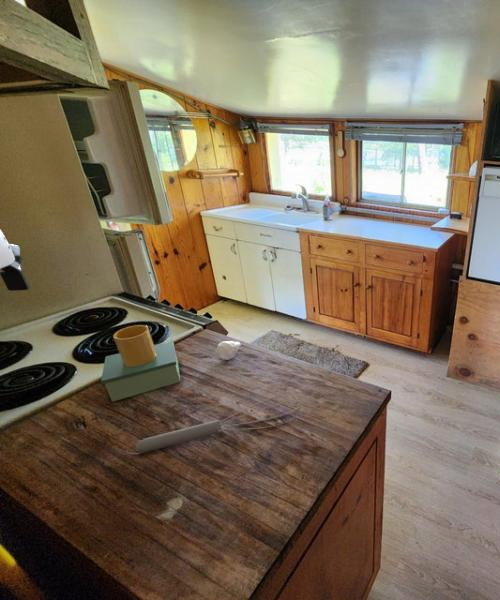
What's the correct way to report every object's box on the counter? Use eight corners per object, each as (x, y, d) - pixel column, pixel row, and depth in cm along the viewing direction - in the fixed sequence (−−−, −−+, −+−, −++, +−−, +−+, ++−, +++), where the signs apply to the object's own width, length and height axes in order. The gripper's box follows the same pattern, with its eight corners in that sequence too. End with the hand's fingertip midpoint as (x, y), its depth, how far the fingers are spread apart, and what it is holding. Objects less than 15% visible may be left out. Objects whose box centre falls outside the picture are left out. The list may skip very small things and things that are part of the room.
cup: (118, 368, 79) (107, 340, 76) (131, 353, 85) (121, 326, 82) (150, 365, 81) (141, 337, 78) (161, 350, 87) (152, 324, 84)
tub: (110, 403, 78) (100, 381, 75) (114, 377, 86) (105, 356, 83) (182, 382, 85) (175, 361, 83) (178, 360, 94) (173, 340, 91)
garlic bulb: (247, 352, 99) (244, 336, 97) (231, 362, 94) (228, 346, 92) (233, 347, 101) (230, 332, 98) (217, 358, 96) (213, 342, 93)
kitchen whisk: (133, 442, 68) (123, 420, 65) (300, 407, 79) (298, 387, 76) (122, 467, 63) (111, 444, 60) (302, 426, 74) (300, 404, 71)
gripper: (-30, 202, 63) (10, 284, 70) (-136, 220, 48) (-70, 322, 55) (18, 202, 64) (53, 282, 72) (-68, 219, 49) (-13, 318, 57)
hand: (0, 299), depth 63 cm, fingers open, 9 cm apart
